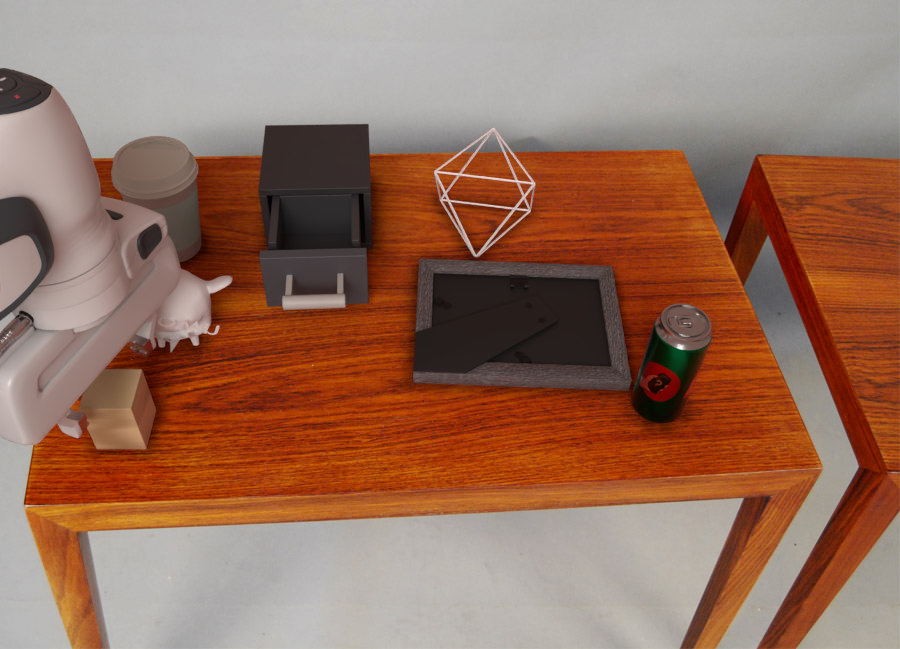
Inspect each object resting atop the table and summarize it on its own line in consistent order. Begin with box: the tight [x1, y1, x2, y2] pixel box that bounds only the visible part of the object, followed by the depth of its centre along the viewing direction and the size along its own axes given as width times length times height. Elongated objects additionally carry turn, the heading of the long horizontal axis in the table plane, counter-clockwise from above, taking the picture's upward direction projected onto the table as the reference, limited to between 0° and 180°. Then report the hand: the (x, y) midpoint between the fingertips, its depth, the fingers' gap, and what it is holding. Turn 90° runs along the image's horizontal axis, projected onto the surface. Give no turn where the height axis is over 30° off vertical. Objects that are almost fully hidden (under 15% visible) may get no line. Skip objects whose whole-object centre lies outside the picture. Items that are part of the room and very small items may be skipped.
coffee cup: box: [110, 135, 203, 263], centre depth 90 cm, size 8×8×12 cm
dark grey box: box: [258, 123, 374, 250], centre depth 96 cm, size 12×12×9 cm
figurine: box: [153, 268, 233, 353], centre depth 83 cm, size 12×8×10 cm
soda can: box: [630, 303, 714, 424], centre depth 78 cm, size 5×5×12 cm
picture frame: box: [412, 258, 632, 392], centre depth 88 cm, size 16×2×21 cm
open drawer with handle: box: [258, 194, 370, 311], centre depth 88 cm, size 15×10×7 cm
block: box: [77, 368, 157, 450], centre depth 76 cm, size 4×4×6 cm
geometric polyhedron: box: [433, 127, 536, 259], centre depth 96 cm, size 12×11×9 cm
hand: (111, 388), depth 74 cm, fingers open, 8 cm apart
